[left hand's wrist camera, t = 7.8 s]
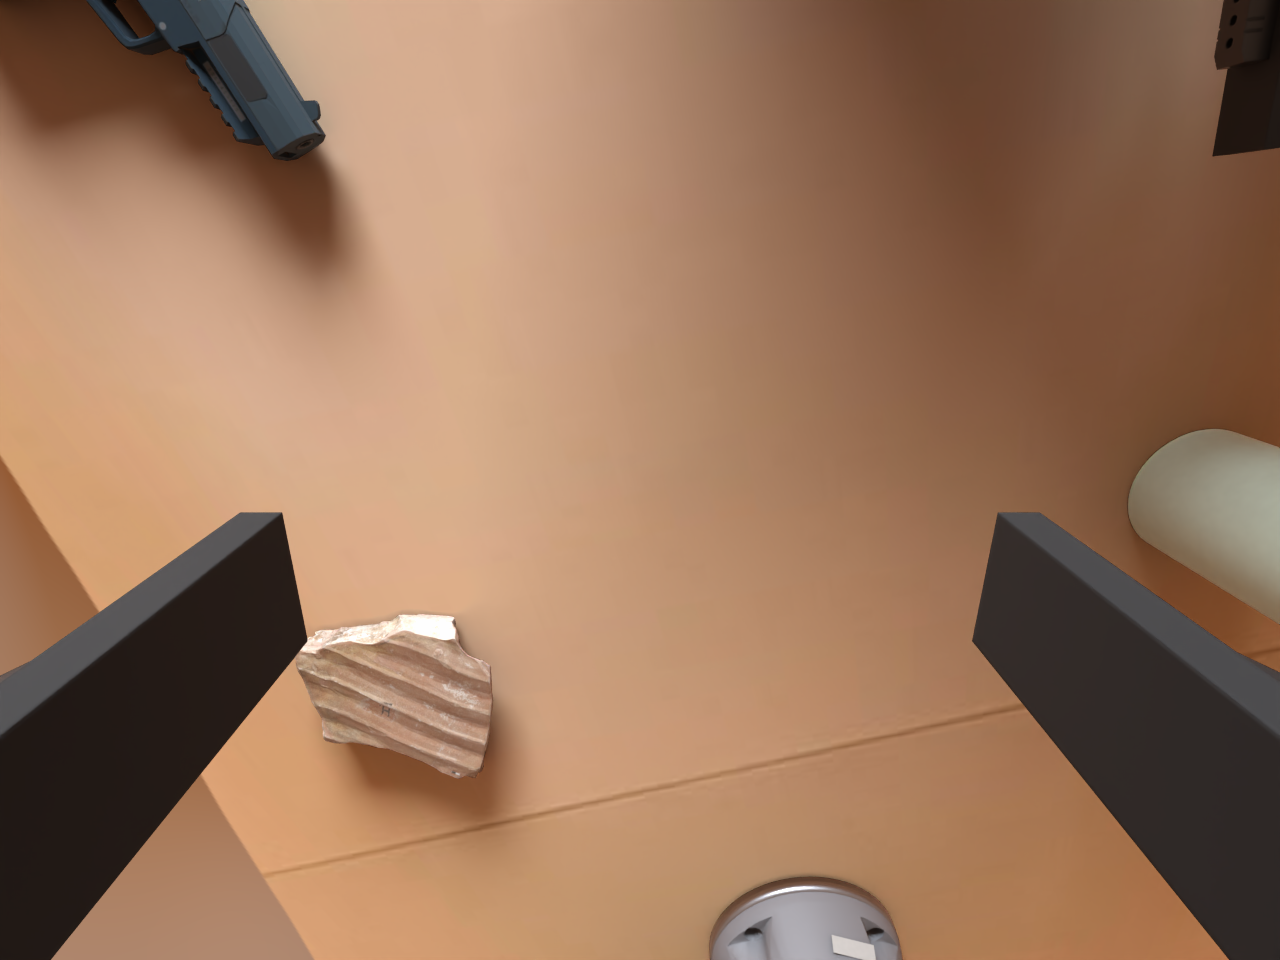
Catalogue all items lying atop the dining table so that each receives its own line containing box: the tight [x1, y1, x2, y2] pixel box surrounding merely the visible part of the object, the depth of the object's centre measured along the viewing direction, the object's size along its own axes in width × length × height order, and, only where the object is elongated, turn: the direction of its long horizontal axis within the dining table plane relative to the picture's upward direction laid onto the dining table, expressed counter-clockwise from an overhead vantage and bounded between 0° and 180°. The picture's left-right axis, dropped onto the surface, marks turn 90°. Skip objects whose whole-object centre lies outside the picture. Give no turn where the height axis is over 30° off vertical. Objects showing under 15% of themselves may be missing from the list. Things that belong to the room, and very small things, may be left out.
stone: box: [295, 614, 493, 779], centre depth 46 cm, size 13×12×3 cm
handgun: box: [86, 0, 326, 161], centre depth 32 cm, size 3×18×12 cm
